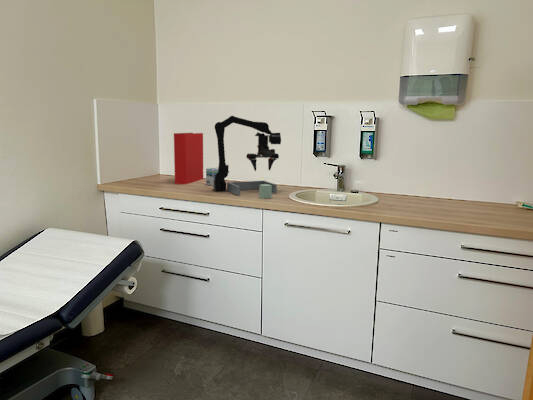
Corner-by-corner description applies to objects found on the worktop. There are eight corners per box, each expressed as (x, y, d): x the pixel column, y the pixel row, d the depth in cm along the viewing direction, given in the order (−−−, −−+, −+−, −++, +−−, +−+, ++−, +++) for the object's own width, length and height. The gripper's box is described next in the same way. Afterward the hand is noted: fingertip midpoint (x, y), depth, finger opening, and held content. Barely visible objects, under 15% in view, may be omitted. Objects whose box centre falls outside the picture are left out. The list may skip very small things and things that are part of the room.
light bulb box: (213, 186, 246) (213, 169, 244) (205, 185, 250) (205, 168, 248) (224, 184, 254) (224, 167, 252) (217, 183, 258) (217, 166, 256)
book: (192, 178, 278) (192, 132, 271) (203, 179, 275) (202, 133, 269) (173, 183, 252) (172, 133, 246) (185, 184, 250) (184, 133, 243)
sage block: (263, 198, 209) (263, 186, 208) (259, 197, 213) (259, 184, 212) (271, 198, 211) (271, 185, 210) (267, 196, 216) (267, 184, 214)
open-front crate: (237, 195, 216) (238, 186, 215) (227, 190, 231) (227, 182, 230) (276, 193, 226) (276, 184, 225) (263, 188, 241) (263, 180, 240)
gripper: (254, 145, 218) (253, 172, 221) (283, 144, 226) (282, 171, 229) (246, 143, 227) (245, 170, 230) (274, 143, 236) (274, 169, 239)
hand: (262, 170), depth 232 cm, fingers open, 9 cm apart
